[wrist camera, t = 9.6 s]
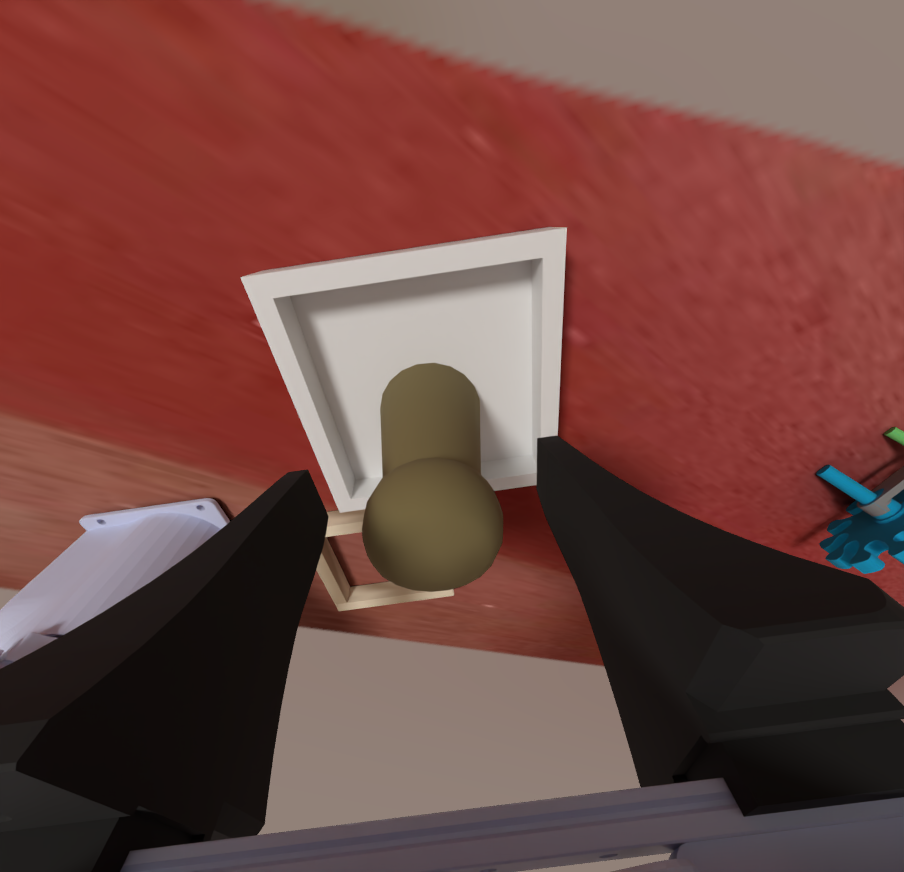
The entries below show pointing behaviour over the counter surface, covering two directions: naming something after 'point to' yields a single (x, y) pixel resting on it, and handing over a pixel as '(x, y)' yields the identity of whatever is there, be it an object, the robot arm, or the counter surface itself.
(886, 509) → the gear
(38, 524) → the counter surface
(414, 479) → the cork
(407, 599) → the collar
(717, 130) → the counter surface
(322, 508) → the robot arm
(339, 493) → the tray
